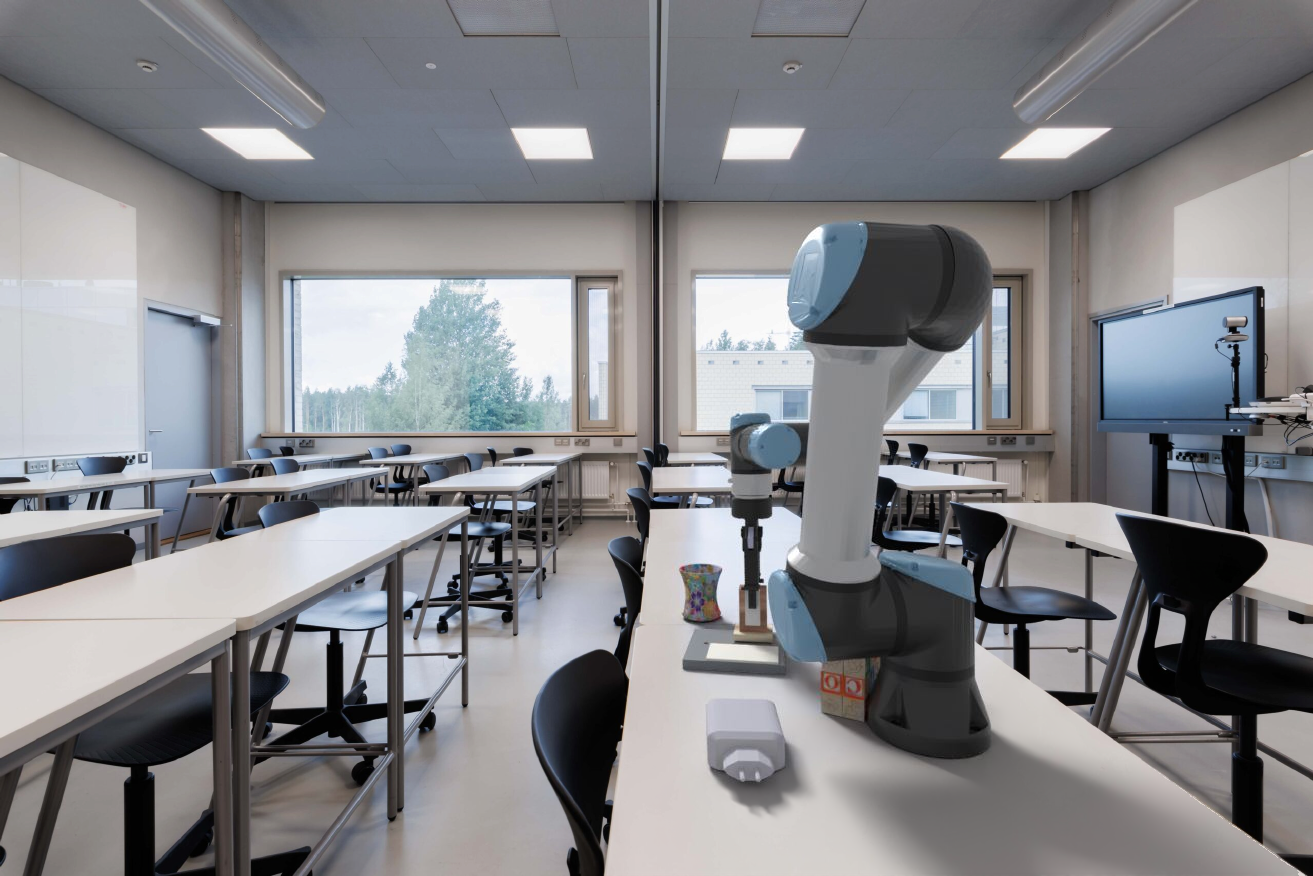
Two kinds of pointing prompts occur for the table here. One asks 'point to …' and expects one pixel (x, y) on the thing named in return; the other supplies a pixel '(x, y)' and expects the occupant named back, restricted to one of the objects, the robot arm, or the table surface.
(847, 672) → the stack of blocks
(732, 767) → the charger
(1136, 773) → the table surface
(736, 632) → the stub
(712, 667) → the board
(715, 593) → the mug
